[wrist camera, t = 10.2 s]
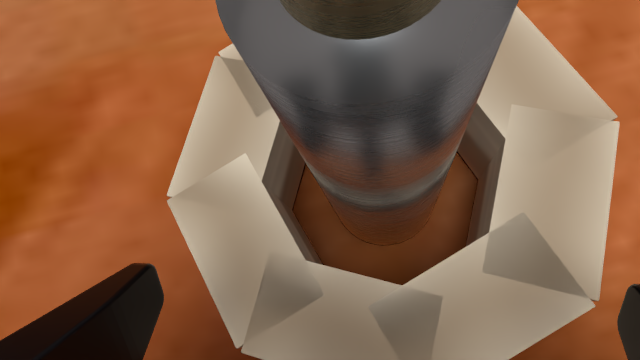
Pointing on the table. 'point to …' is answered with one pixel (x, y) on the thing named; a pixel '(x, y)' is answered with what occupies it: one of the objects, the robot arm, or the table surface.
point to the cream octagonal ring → (444, 278)
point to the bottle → (372, 94)
